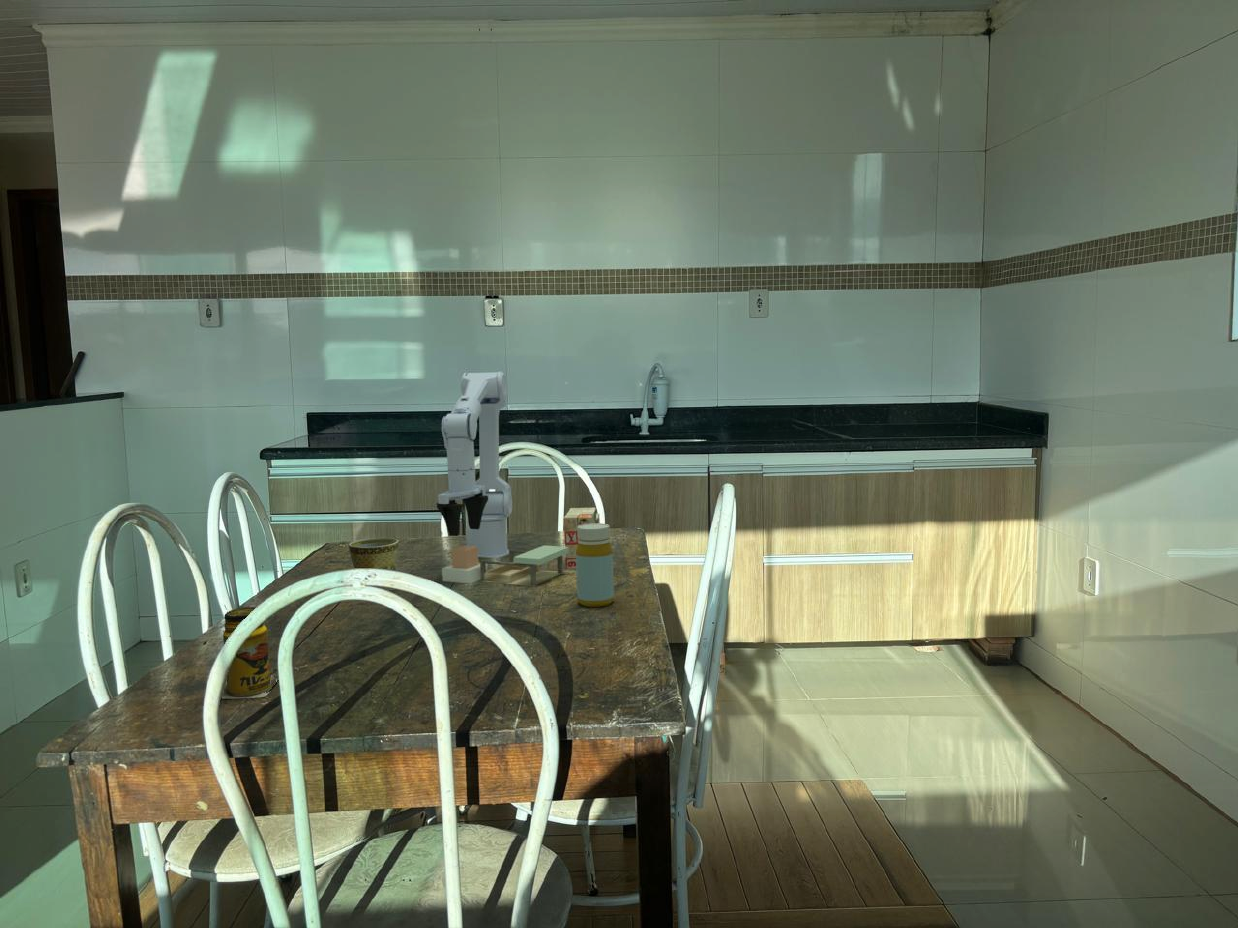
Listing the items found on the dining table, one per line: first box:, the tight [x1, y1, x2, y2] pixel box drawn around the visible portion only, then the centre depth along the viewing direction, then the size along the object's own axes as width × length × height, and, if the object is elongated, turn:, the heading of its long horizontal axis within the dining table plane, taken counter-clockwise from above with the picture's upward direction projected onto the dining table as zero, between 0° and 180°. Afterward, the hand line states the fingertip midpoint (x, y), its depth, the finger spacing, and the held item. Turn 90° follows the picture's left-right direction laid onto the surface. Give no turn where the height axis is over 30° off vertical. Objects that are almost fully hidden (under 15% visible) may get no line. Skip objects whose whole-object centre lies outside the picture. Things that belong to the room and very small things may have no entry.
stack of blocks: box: [563, 507, 601, 570], centre depth 219 cm, size 21×6×12 cm, turn 176°
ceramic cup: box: [348, 537, 399, 571], centre depth 198 cm, size 13×10×10 cm
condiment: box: [221, 606, 278, 700], centre depth 138 cm, size 7×8×12 cm
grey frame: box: [479, 549, 565, 587], centre depth 204 cm, size 13×13×5 cm
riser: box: [441, 562, 489, 584], centre depth 204 cm, size 7×7×3 cm
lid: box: [514, 544, 569, 566], centre depth 201 cm, size 6×13×1 cm, turn 154°
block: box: [450, 544, 479, 569], centre depth 203 cm, size 4×4×4 cm
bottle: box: [575, 522, 615, 608], centre depth 181 cm, size 7×7×15 cm
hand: (464, 532), depth 203 cm, fingers open, 7 cm apart
